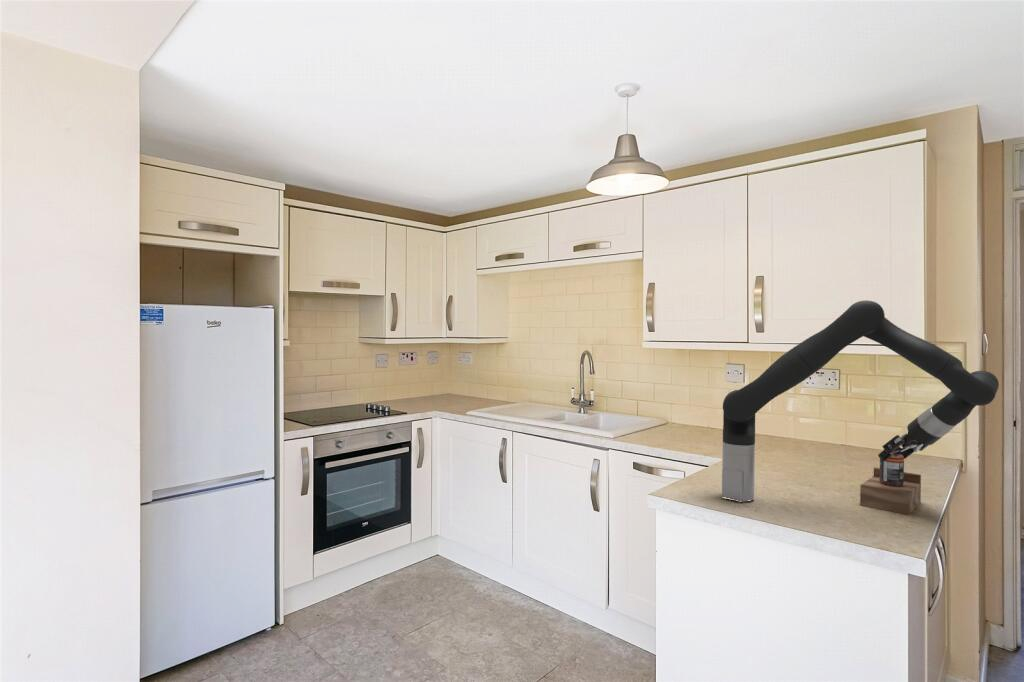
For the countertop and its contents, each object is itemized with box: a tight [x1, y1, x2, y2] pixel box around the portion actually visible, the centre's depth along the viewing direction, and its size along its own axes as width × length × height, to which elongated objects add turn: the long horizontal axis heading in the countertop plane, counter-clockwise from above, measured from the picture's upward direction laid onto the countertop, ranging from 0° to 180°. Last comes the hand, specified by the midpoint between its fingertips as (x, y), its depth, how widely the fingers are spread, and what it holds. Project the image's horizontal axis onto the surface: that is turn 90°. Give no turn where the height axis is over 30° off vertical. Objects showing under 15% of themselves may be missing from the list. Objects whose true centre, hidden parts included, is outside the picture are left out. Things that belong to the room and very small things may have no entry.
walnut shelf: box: [859, 467, 922, 516], centre depth 165 cm, size 16×12×8 cm
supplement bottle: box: [879, 447, 905, 486], centre depth 165 cm, size 6×6×11 cm
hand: (891, 457), depth 165 cm, fingers open, 8 cm apart
